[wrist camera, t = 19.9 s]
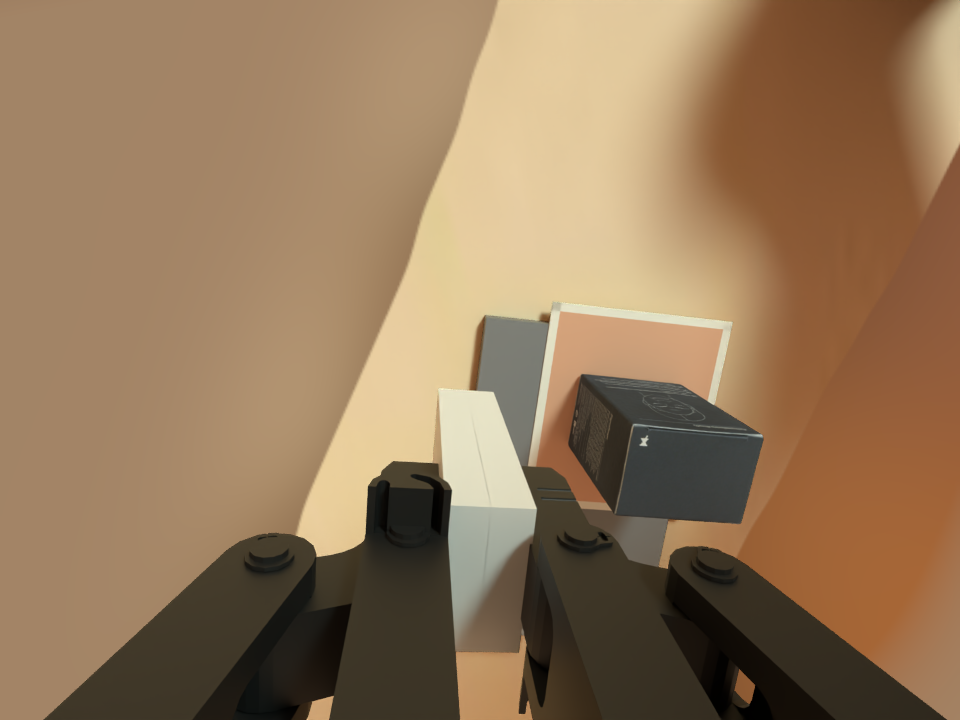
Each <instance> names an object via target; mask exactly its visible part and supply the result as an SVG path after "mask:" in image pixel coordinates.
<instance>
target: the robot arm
mask: <svg viewBox="0 0 960 720" xmlns="http://www.w3.org/2000/svg"><path fill="white" fill-rule="evenodd" d="M522 627H523V631H524V635H525V640H526V644H527V646H526V654H525V662H524V670H523V678H522V685H521V693H520V701H519V714H525V712H526V705H527V701H528V700H529V704H530V709H531V713H532V718H533V720H947V719H945V718H944V717H943V716H941V715H940V714H939V713H937V712H936V711H935V710H934V709H932V708H931V707H930V706H929V705H927V704H926V703H924V702H923V701H922V700H921V699H919V698H918V697H917V696H916V695H914V694H913V693H912V692H910V691H909V690H908V689H906V688H905V687H904V686H902V685H901V684H900V683H899V682H897V681H896V680H895V679H894V678H892V677H891V676H890V675H888V674H887V673H886V672H884V671H883V670H882V669H881V668H879V667H878V666H877V665H875V664H874V663H873V662H872V661H870V660H869V659H868V658H866V657H865V656H864V655H862V654H861V653H860V652H858V651H857V650H856V649H855V648H853V647H852V646H851V645H849V644H848V643H847V642H846V641H844V640H843V639H842V638H840V637H839V636H838V635H837V634H835V633H834V632H833V631H831V630H830V629H829V628H827V627H826V626H825V625H824V624H822V623H821V622H820V621H819V620H817V619H816V618H815V617H813V616H812V615H811V614H809V613H808V612H807V611H806V610H804V609H803V608H802V607H800V606H799V605H797V604H796V603H795V602H794V601H793V600H791V599H790V598H789V597H787V596H786V595H785V594H783V593H782V592H781V591H780V590H778V589H777V588H776V587H775V586H773V585H772V584H771V583H769V582H768V581H767V580H765V579H764V578H763V577H762V576H760V575H759V574H758V573H756V572H755V571H754V570H753V569H751V568H750V567H749V566H747V565H746V564H744V563H743V562H741V561H739V560H738V559H736V558H735V557H733V556H730V555H728V554H725V553H723V552H721V551H720V550H718V549H714V548H710V549H709V548H708V547H703V546H699V547H683V548H680V549H676V550H675V551H674V552H673V553H672V554H671V555H670V560H669V565H668V569H665V568H660V567H656V566H651V565H647V564H642V563H639V562H635V561H632V560H628V558H627V556H626V555H625V553H624V551H623V549H622V548H621V546H620V544H619V543H618V541H617V540H616V539H615V538H614V537H613V536H612V535H611V534H609V533H608V532H606V531H604V530H602V529H601V528H599V527H596V526H593V525H590V524H589V522H588V520H587V519H586V517H585V515H584V513H583V511H582V509H581V507H580V505H579V503H578V501H576V498H575V496H574V494H573V492H571V488H570V486H569V484H568V482H567V480H566V479H565V477H563V476H562V475H560V474H559V473H558V472H556V471H555V470H554V469H552V468H551V467H531V466H521V465H520V462H519V460H518V457H517V454H516V451H515V449H514V446H513V443H512V441H511V438H510V435H509V433H508V430H507V427H506V424H505V422H504V419H503V416H502V414H501V411H500V408H499V406H498V403H497V400H496V397H495V395H494V392H487V391H471V390H455V389H440V388H438V400H437V413H436V425H435V438H434V451H433V463H418V462H398V461H393V462H392V463H390V464H389V465H388V466H387V467H386V468H384V469H383V470H382V472H381V475H380V476H378V477H376V478H374V479H373V480H372V481H371V483H370V484H369V486H368V498H367V517H366V534H365V540H364V541H363V542H362V543H361V544H359V545H358V546H356V547H355V548H352V549H350V550H347V551H345V552H342V553H338V554H333V555H328V556H322V557H316V552H315V549H314V546H313V545H312V544H311V543H309V542H308V541H307V540H306V539H304V538H301V537H298V536H294V535H291V534H279V533H268V534H262V535H257V536H254V537H251V538H249V539H245V540H243V541H240V542H238V543H237V544H235V545H234V546H232V547H231V548H229V549H228V550H226V551H225V552H224V553H223V554H222V555H221V556H220V557H219V558H218V559H217V560H216V561H215V562H213V563H212V564H211V565H210V566H209V567H208V568H207V569H206V570H205V571H204V572H203V573H202V574H200V575H199V577H197V578H196V579H195V580H194V581H193V582H192V583H191V584H190V585H189V586H188V587H186V588H185V589H184V590H183V591H182V592H181V593H180V594H179V595H178V596H177V597H176V598H175V599H174V600H172V601H171V602H170V603H169V604H168V605H167V606H166V607H165V608H164V609H163V610H162V611H161V612H159V613H158V614H157V615H156V616H155V617H154V618H153V619H152V620H151V621H150V622H149V623H148V624H147V625H146V626H144V627H143V628H142V629H141V630H140V631H139V632H138V633H137V634H136V635H135V636H134V637H133V638H132V639H130V640H129V641H128V642H127V643H126V644H125V645H124V646H123V647H122V648H121V649H120V650H118V652H116V653H115V654H114V655H113V656H112V657H111V658H110V659H109V660H108V661H107V662H106V663H105V664H103V665H102V666H101V667H100V668H99V669H98V670H97V671H96V672H95V673H94V674H93V675H92V676H91V677H89V679H87V680H86V681H85V682H84V683H83V684H82V685H81V686H80V687H79V688H78V689H77V690H75V691H74V692H73V693H72V694H71V695H70V696H69V697H68V698H67V699H66V700H65V701H63V702H62V703H61V704H60V705H59V706H58V707H57V708H56V709H55V710H54V711H53V712H52V713H50V714H49V715H48V716H47V717H46V718H45V719H44V720H306V719H307V717H308V715H309V711H310V708H311V705H312V701H315V700H319V699H323V698H326V697H330V696H334V698H333V703H332V708H331V713H330V718H329V720H460V713H459V698H458V682H457V667H456V652H515V653H519V648H520V640H521V632H522ZM739 669H740V670H741V671H742V672H743V673H744V674H745V675H746V676H747V677H748V678H749V679H750V680H751V681H752V682H753V683H754V684H755V689H754V693H753V697H752V701H751V703H750V704H748V703H747V702H745V701H744V700H743V699H742V698H741V697H740V696H739V695H738V694H737V693H736V692H735V691H734V689H735V684H736V681H737V676H738V672H739Z"/></svg>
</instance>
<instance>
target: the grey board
mask: <svg viewBox="0 0 960 720" xmlns="http://www.w3.org/2000/svg"><path fill="white" fill-rule="evenodd" d="M732 324H733V322H729V321H720V320H711V319H703V318H694V317H685V316H676V315H668V314H659V313H650V312H641V311H632V310H624V309H615V308H606V307H597V306H588V305H580V304H571V303H562V302H553V303H552V309H551V316H550V322H543V321H533V320H524V319H515V318H506V317H497V316H488V315H485V320H484V327H483V335H482V343H481V351H480V359H479V367H478V375H477V382H476V390H475V391H487V392H494V395H495V397H496V400H497V403H498V406H499V408H500V411H501V414H502V416H503V419H504V422H505V424H506V427H507V430H508V433H509V435H510V438H511V441H512V443H513V446H514V449H515V451H516V454H517V457H518V460H519V462H520V465H521V466H531V467H551V468H552V469H554V470H555V471H556V472H558V473H559V474H560V475H562V476H563V477H565V479H566V480H567V482H568V484H569V486H570V488H571V492H573V494H574V496H575V498H576V501H578V503H579V505H580V507H581V509H582V511H583V513H584V515H585V517H586V519H587V520H588V522H589V524H590V525H593V526H596V527H599V528H601V529H602V530H604V531H606V532H608V533H609V534H611V535H612V536H613V537H614V538H615V539H616V540H617V541H618V543H619V544H620V546H621V548H622V549H623V551H624V553H625V555H626V556H627V558H628V560H632V561H635V562H639V563H642V564H647V565H651V566H656V567H658V566H659V561H660V556H661V552H662V547H663V542H664V538H665V533H666V528H667V523H668V519H660V518H645V517H631V516H616V515H614V514H613V512H612V510H611V509H610V507H609V506H608V505H607V503H606V501H605V500H604V499H603V497H602V496H601V494H600V493H599V491H598V490H597V488H596V487H595V485H594V484H593V482H592V481H591V479H590V477H589V476H588V475H587V473H586V472H585V470H584V469H583V467H582V466H581V464H580V463H579V461H578V460H577V458H576V457H575V455H574V453H573V452H572V451H571V449H570V448H569V446H568V439H569V435H570V430H571V424H572V418H573V413H574V408H575V401H576V396H577V391H578V386H579V381H580V376H581V374H589V375H599V376H608V377H619V378H628V379H637V380H647V381H656V382H665V383H674V384H681V385H683V386H684V387H686V388H687V389H689V390H691V391H692V392H694V393H695V394H697V395H699V396H700V397H702V398H703V399H705V400H707V401H708V402H710V403H711V404H713V405H715V401H716V396H717V392H718V387H719V383H720V378H721V374H722V369H723V365H724V360H725V356H726V351H727V347H728V342H729V338H730V333H731V329H732ZM521 635H524V631H523V627H522V632H521Z"/></svg>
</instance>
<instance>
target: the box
mask: <svg viewBox="0 0 960 720" xmlns="http://www.w3.org/2000/svg"><path fill="white" fill-rule="evenodd" d="M762 443H763V435H762V434H760V433H759V432H757V431H755V430H753V429H752V428H750V427H749V426H747V425H745V424H744V423H742V422H741V421H739V420H737V419H736V418H734V417H732V416H731V415H729V414H727V413H726V412H724V411H723V410H721V409H720V408H718V407H716V406H715V405H713V404H711V403H710V402H708V401H707V400H705V399H703V398H702V397H700V396H699V395H697V394H695V393H694V392H692V391H691V390H689V389H687V388H686V387H684V386H683V385H681V384H674V383H665V382H656V381H647V380H637V379H628V378H619V377H608V376H599V375H589V374H581V376H580V381H579V386H578V391H577V396H576V401H575V408H574V413H573V418H572V424H571V430H570V435H569V439H568V446H569V448H570V449H571V451H572V452H573V453H574V455H575V457H576V458H577V460H578V461H579V463H580V464H581V466H582V467H583V469H584V470H585V472H586V473H587V475H588V476H589V477H590V479H591V481H592V482H593V484H594V485H595V487H596V488H597V490H598V491H599V493H600V494H601V496H602V497H603V499H604V500H605V501H606V503H607V505H608V506H609V507H610V509H611V510H612V512H613V514H614V515H616V516H631V517H645V518H660V519H675V520H689V521H704V522H717V523H731V524H741V521H742V518H743V514H744V511H745V507H746V503H747V499H748V496H749V492H750V488H751V485H752V480H753V477H754V473H755V469H756V465H757V461H758V458H759V454H760V450H761V447H762Z"/></svg>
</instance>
